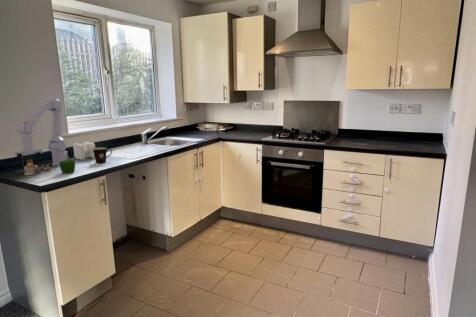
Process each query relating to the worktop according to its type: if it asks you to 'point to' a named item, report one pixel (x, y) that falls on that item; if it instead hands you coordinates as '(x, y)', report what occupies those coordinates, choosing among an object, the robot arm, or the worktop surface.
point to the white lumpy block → (83, 150)
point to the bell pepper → (67, 166)
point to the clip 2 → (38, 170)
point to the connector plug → (29, 163)
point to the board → (39, 173)
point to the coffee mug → (100, 154)
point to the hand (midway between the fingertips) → (30, 165)
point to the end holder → (30, 169)
